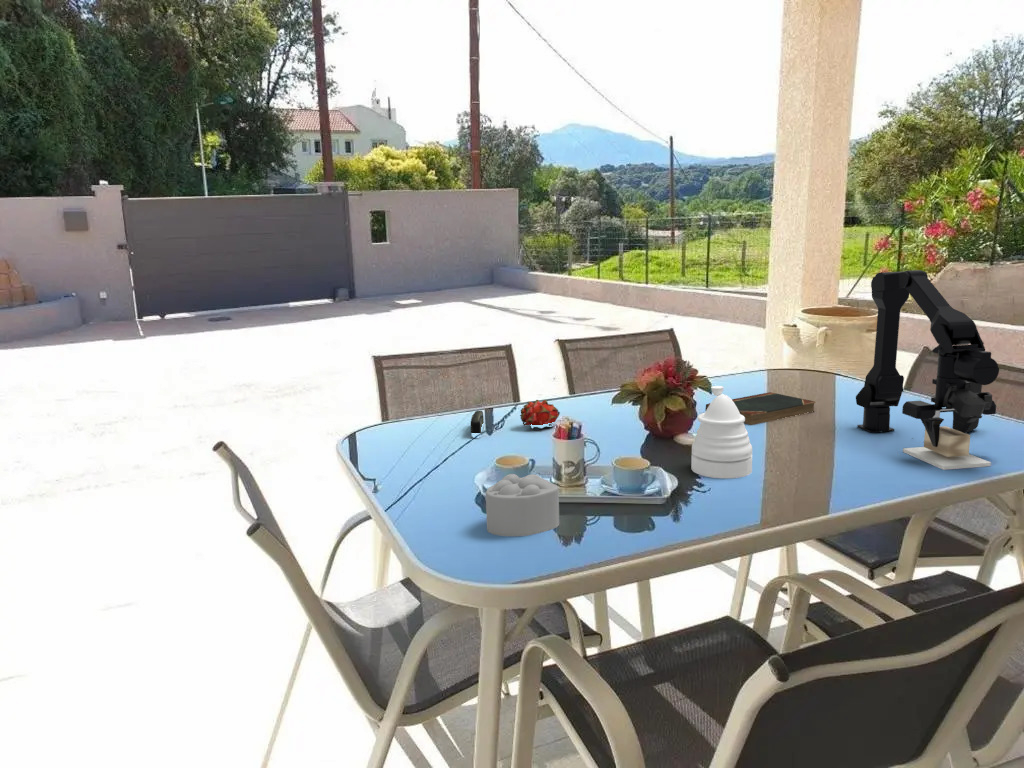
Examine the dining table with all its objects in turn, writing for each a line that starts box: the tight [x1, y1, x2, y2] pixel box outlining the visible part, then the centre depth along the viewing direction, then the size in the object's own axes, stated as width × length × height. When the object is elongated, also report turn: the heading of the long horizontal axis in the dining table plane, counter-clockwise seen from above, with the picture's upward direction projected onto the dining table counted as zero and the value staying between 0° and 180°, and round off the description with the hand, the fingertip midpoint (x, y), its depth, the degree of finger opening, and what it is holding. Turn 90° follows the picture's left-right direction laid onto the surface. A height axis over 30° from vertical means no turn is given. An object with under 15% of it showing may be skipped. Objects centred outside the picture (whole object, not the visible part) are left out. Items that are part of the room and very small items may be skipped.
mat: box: [902, 446, 992, 471], centre depth 177 cm, size 14×11×1 cm
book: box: [704, 392, 816, 426], centre depth 223 cm, size 17×4×25 cm
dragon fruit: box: [519, 399, 561, 426], centre depth 214 cm, size 8×8×12 cm
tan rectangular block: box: [923, 425, 971, 457], centre depth 176 cm, size 5×8×5 cm, turn 8°
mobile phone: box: [470, 410, 485, 434], centre depth 213 cm, size 5×3×15 cm
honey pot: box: [690, 385, 753, 480], centre depth 173 cm, size 13×13×18 cm
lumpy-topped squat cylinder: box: [485, 473, 560, 537], centre depth 145 cm, size 10×13×9 cm
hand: (946, 445), depth 176 cm, fingers closed on tan rectangular block, 5 cm apart
